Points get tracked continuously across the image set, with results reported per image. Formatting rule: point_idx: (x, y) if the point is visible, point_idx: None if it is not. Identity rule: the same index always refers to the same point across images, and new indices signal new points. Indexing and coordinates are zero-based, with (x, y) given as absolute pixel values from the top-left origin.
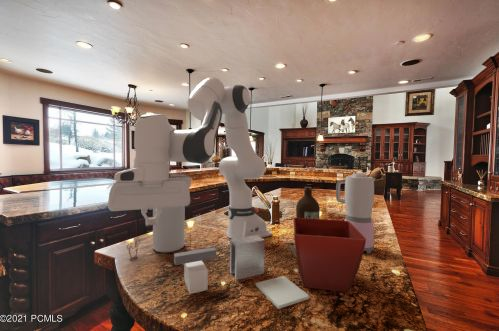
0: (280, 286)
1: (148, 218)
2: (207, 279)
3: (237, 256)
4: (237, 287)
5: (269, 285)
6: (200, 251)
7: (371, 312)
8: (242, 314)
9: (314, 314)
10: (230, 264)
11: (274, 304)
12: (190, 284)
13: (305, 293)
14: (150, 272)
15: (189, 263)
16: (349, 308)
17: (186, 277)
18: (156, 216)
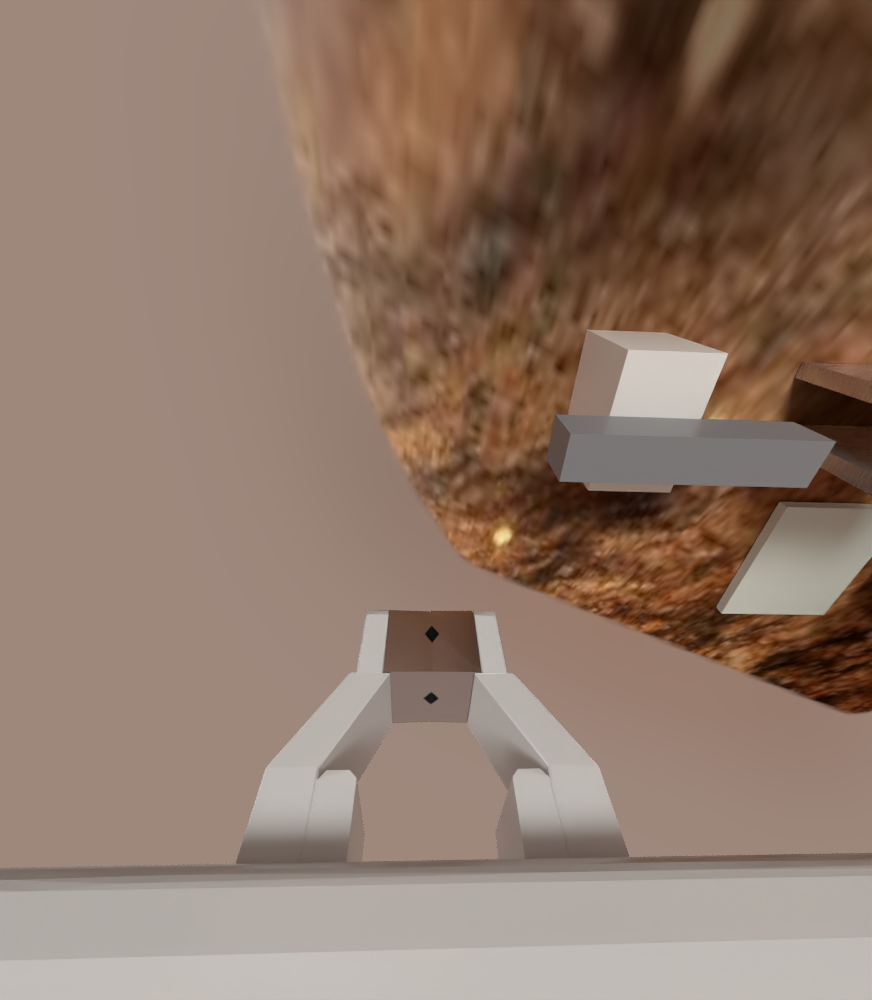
0: (821, 555)
1: (392, 704)
2: None
3: (864, 489)
4: None
5: (803, 538)
6: (718, 470)
7: (848, 677)
8: (630, 589)
9: (757, 644)
10: (838, 382)
11: (724, 594)
12: None
13: (829, 604)
14: (451, 100)
15: (638, 391)
16: (835, 657)
17: (587, 395)
18: (486, 749)
